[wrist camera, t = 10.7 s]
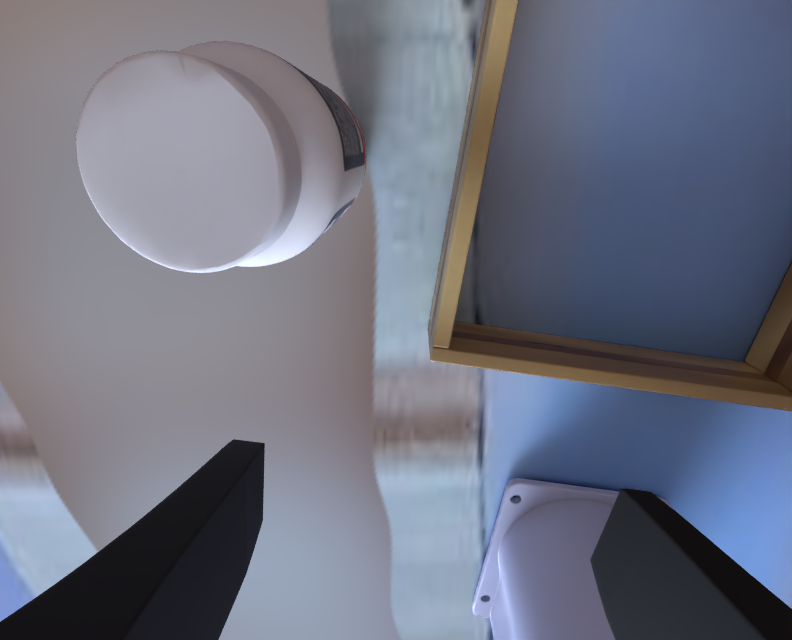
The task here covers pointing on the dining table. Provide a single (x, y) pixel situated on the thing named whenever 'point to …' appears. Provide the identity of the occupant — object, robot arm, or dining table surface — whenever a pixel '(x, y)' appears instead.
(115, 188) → the pill bottle
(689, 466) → the dining table surface
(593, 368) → the picture frame
